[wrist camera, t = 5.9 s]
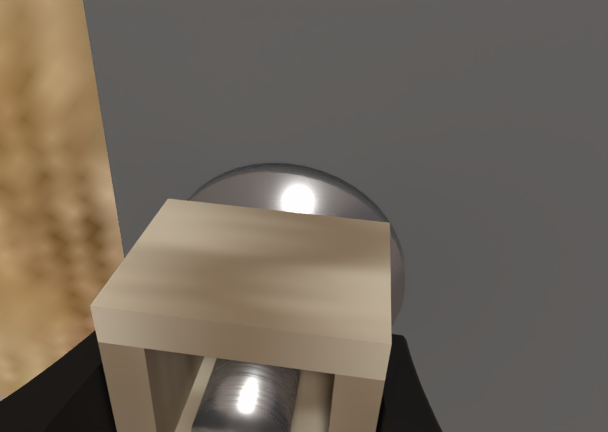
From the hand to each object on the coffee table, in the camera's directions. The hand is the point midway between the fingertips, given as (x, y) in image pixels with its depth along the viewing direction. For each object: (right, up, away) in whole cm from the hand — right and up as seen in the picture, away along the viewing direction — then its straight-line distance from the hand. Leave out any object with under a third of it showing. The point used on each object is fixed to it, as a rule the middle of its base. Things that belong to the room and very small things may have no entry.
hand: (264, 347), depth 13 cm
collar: (0, +1, +1) cm, 2 cm away
